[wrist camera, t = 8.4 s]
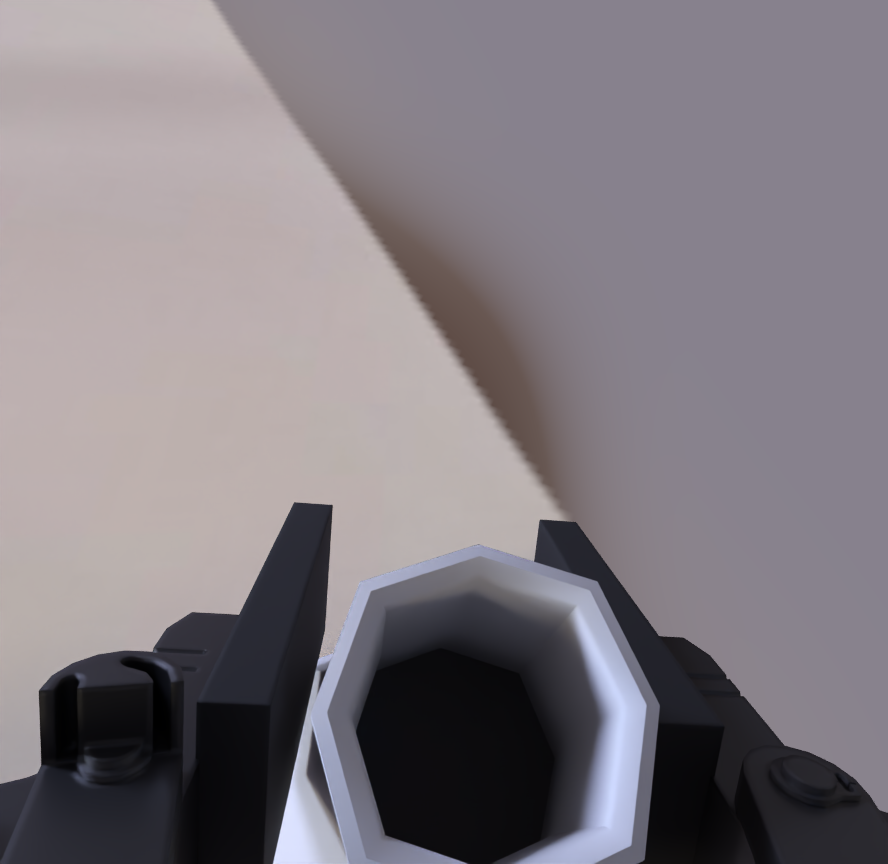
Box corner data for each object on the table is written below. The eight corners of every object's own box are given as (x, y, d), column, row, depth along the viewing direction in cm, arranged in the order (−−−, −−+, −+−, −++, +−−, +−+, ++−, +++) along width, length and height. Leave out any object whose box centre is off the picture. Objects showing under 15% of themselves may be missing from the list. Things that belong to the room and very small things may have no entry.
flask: (555, 629, 17) (754, 393, 8) (604, 1007, 13) (1066, 1269, 5) (257, 631, 16) (149, 373, 8) (213, 1037, 12) (-107, 1424, 4)
